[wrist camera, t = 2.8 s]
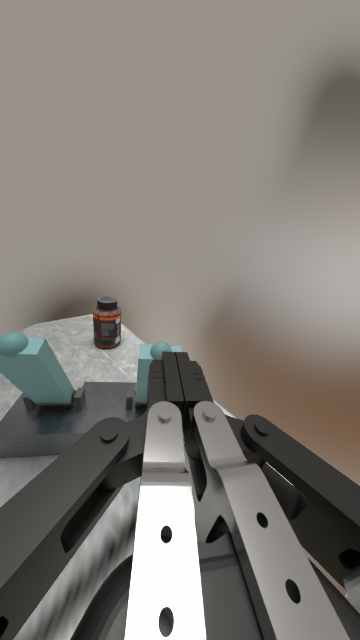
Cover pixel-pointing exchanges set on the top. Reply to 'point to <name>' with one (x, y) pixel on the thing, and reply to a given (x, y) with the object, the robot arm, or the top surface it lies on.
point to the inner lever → (35, 370)
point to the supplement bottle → (107, 323)
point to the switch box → (65, 418)
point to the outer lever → (145, 358)
